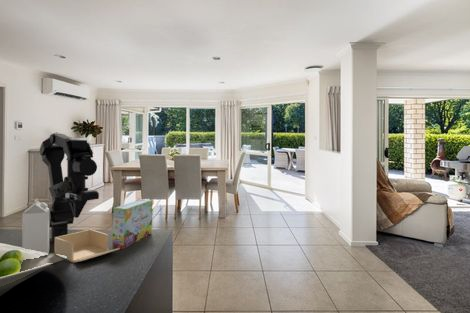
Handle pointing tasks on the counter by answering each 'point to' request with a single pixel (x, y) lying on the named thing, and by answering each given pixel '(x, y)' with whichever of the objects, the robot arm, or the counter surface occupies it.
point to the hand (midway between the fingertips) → (76, 217)
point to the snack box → (131, 222)
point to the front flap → (96, 255)
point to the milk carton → (36, 227)
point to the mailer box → (81, 244)
